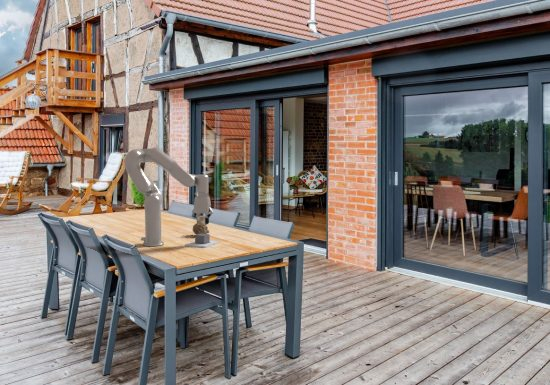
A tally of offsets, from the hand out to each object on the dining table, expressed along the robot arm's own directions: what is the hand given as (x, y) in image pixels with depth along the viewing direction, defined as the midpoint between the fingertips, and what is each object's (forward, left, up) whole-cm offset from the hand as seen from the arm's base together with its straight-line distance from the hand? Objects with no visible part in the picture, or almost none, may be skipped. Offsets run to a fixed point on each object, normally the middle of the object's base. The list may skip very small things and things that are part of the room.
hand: (202, 223), depth 299 cm
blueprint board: (0, 0, -13) cm, 13 cm away
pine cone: (-13, +23, -13) cm, 30 cm away
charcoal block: (0, 0, -12) cm, 12 cm away
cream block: (0, 0, -1) cm, 1 cm away
